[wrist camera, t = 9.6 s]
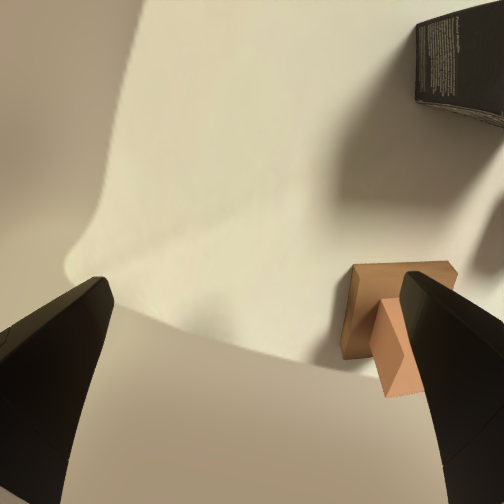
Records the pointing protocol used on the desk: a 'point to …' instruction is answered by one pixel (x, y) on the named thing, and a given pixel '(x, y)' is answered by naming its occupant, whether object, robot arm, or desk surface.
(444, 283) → the walnut slab
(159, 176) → the desk surface
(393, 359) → the terracotta cube
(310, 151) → the desk surface
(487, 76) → the small box
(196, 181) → the desk surface
